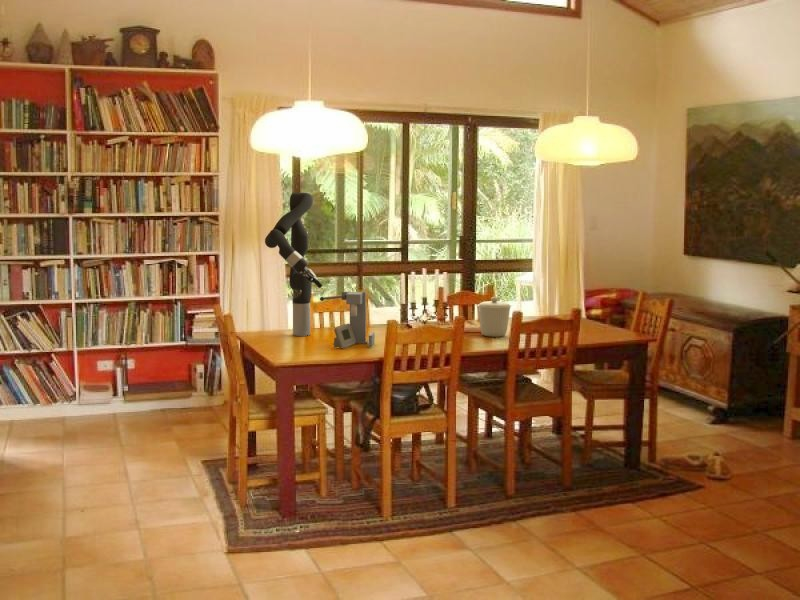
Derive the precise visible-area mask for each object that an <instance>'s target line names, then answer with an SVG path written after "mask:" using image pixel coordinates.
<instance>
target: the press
mask: <svg viewBox="0 0 800 600" xmlns="http://www.w3.org/2000/svg"><path fill="white" fill-rule="evenodd" d="M343 294H346V299H343V298H341V300H342V301H346V303H345V304H346V305H349V324H350V325H351V328H352V331H353V334H354V337H355V340H356V343H368V348H369V347H372V346H373V347H374V345H375V334H376V333H375V332H376V331H375V332H374V331H372V332H371V331H370V333H369V334H368V340H367V323H366V322H367V292H366V291H365V292H364V291H341V295H343ZM373 347H372V348H373Z"/></svg>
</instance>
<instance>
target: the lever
mask: <svg viewBox="0 0 800 600" xmlns="http://www.w3.org/2000/svg"><path fill="white" fill-rule="evenodd" d="M342 298H343V299H346V294H343V295H342V294H340V295H334V296H320V298H319V300H320V301H321V302H323V301H325V300H336V299H342Z"/></svg>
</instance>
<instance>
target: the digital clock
mask: <svg viewBox="0 0 800 600" xmlns="http://www.w3.org/2000/svg"><path fill="white" fill-rule="evenodd" d="M333 330H334V331H333V332H334V334H335V337H334V339H333V348H335V347H339V348H338V349H341V350H343V349H348V348H350V347H352V346H353V345H356V344H355V343H356V340H355V337H354V334H353V331H352V328H351V325H350V323H344V324H342V325H341V324H340V325H338V326H337V327H334V329H333ZM351 345H352V346H351ZM349 346H350V347H349ZM347 347H348V348H347Z"/></svg>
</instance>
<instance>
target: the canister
mask: <svg viewBox="0 0 800 600" xmlns="http://www.w3.org/2000/svg"><path fill="white" fill-rule="evenodd" d="M498 300H499V299H498V297H497V296H492V297H491V298H490V300H489V301H487V300H486V301H482V302H479V304H477V307H478V317H479V318H478V319H479V327H480V333H481V334H482V335H483V336H484V337H490V338H497V337H498V338H499V337H500V338H501V337H504V336H505V335H506V334H507V332H508V325H509V318H510V311H511V308H512V305H511V304H510V303H508V302H505V301H498Z"/></svg>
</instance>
